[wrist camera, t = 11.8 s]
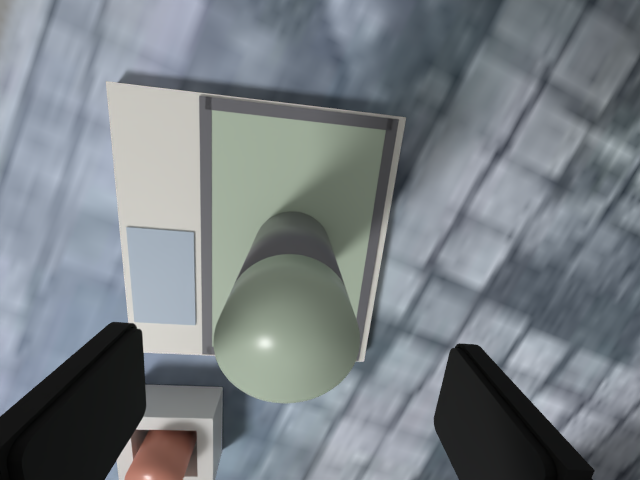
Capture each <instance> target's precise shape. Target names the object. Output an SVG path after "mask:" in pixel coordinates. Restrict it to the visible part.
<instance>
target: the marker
mask: <svg viewBox="0 0 640 480" xmlns="http://www.w3.org/2000/svg"><path fill="white" fill-rule="evenodd" d="M213 344H214V353H215V357H216V360H217V362H218V365H219V367H220V369H221V370H222V372H223V374H224V375H225V376H226V377H227V379H228V380H229V381H230V382H231V383H232V384H233V385H234V386H236V387H237V388H238V389H240V390H241V391H243V392H245V393H246V394H248V395H250V396H252V397H255V398H257V399H261V400H264V401H268V402H274V403H296V402H303V401H307V400H310V399H313V398H316V397H319V396H321V395H323V394H325V393H327V392H328V391H330V390H331V389H333V388H334V387H336V386H337V385H338V384H339V383H340V382H341V381H342V380H343V379H344V378H345V377H346V376H347V375H348V373H349V372H350V371H351V369H352V367H353V366H354V364H355V361H356V359H357V356H358V353H359V348H360V331H359V327H358V323H357V320H356V317H355V314H354V311H353V308H352V305H351V302H350V299H349V296H348V293H347V290H346V287H345V284H344V281H343V278H342V275H341V273H340V270H339V267H338V264H337V261H336V258H335V255H334V252H333V249H332V246H331V243H330V240H329V237H328V234H327V232H326V230H325V229H324V227H323V226H322V225H321V224H320V223H319V222H318V221H317V220H316V219H315V218H313V217H311V216H310V215H307V214H305V213H301V212H294V211H290V212H283V213H279V214H277V215H275V216H273V217H271V218H270V219H268V220H267V221H266V222H265V223H264V224H263V225H262V226H261V228H260V229H259V231H258V233H257V235H256V237H255V239H254V242H253V244H252V246H251V248H250V250H249V253H248V255H247V257H246V259H245V262H244V264H243V266H242V268H241V270H240V273H239V275H238V277H237V279H236V281H235V284H234V286H233V288H232V290H231V293H230V295H229V297H228V299H227V301H226V304H225V306H224V308H223V310H222V312H221V315H220V317H219V319H218V322H217V324H216V327H215V332H214V340H213Z"/></svg>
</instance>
